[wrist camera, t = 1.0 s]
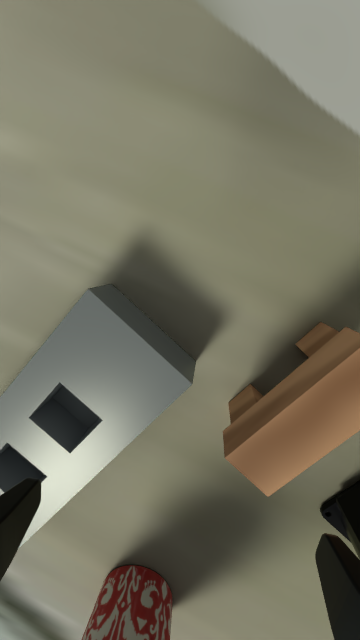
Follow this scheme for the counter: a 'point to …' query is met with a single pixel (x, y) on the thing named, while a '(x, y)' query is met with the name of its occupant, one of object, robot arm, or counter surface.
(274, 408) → the tan pronged block
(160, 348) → the rail
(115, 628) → the mug
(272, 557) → the counter surface
